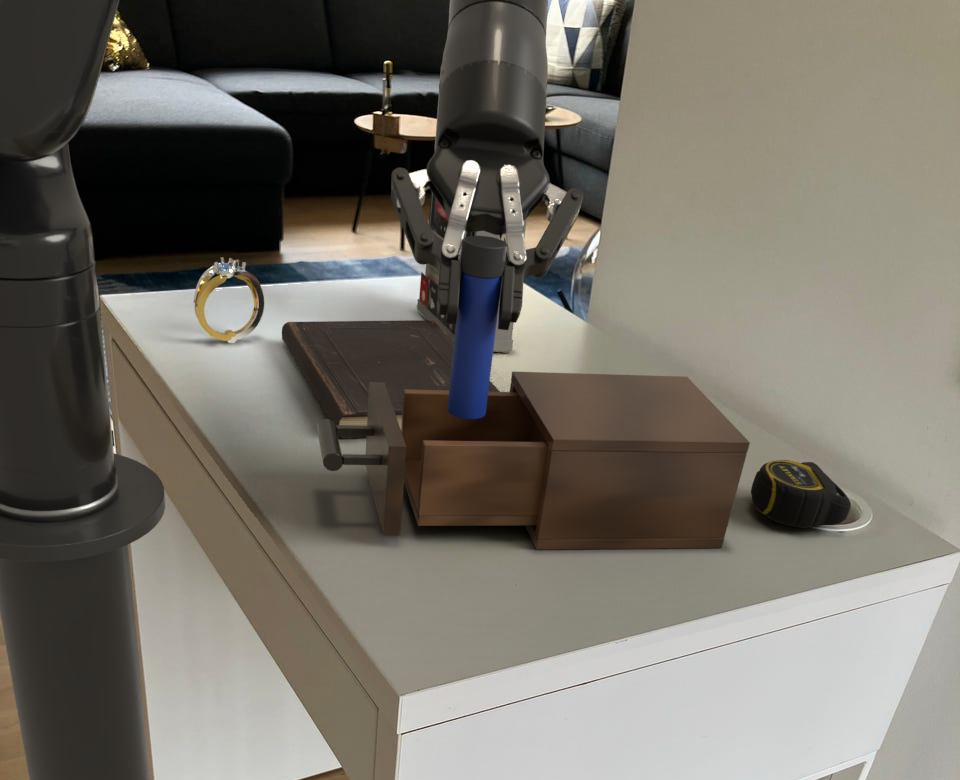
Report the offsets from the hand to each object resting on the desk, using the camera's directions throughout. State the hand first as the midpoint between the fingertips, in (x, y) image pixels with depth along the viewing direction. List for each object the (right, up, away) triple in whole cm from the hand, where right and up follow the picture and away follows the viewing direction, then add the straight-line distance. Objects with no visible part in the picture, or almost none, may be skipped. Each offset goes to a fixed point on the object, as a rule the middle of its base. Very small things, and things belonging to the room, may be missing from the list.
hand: (478, 320), depth 71 cm
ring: (-25, +8, +35) cm, 44 cm away
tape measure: (+26, -11, +16) cm, 32 cm away
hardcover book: (-9, +3, +30) cm, 31 cm away
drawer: (-3, -11, +9) cm, 15 cm away
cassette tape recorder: (-2, +12, +45) cm, 46 cm away
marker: (-1, -5, +6) cm, 8 cm away
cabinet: (+10, -11, +13) cm, 20 cm away
